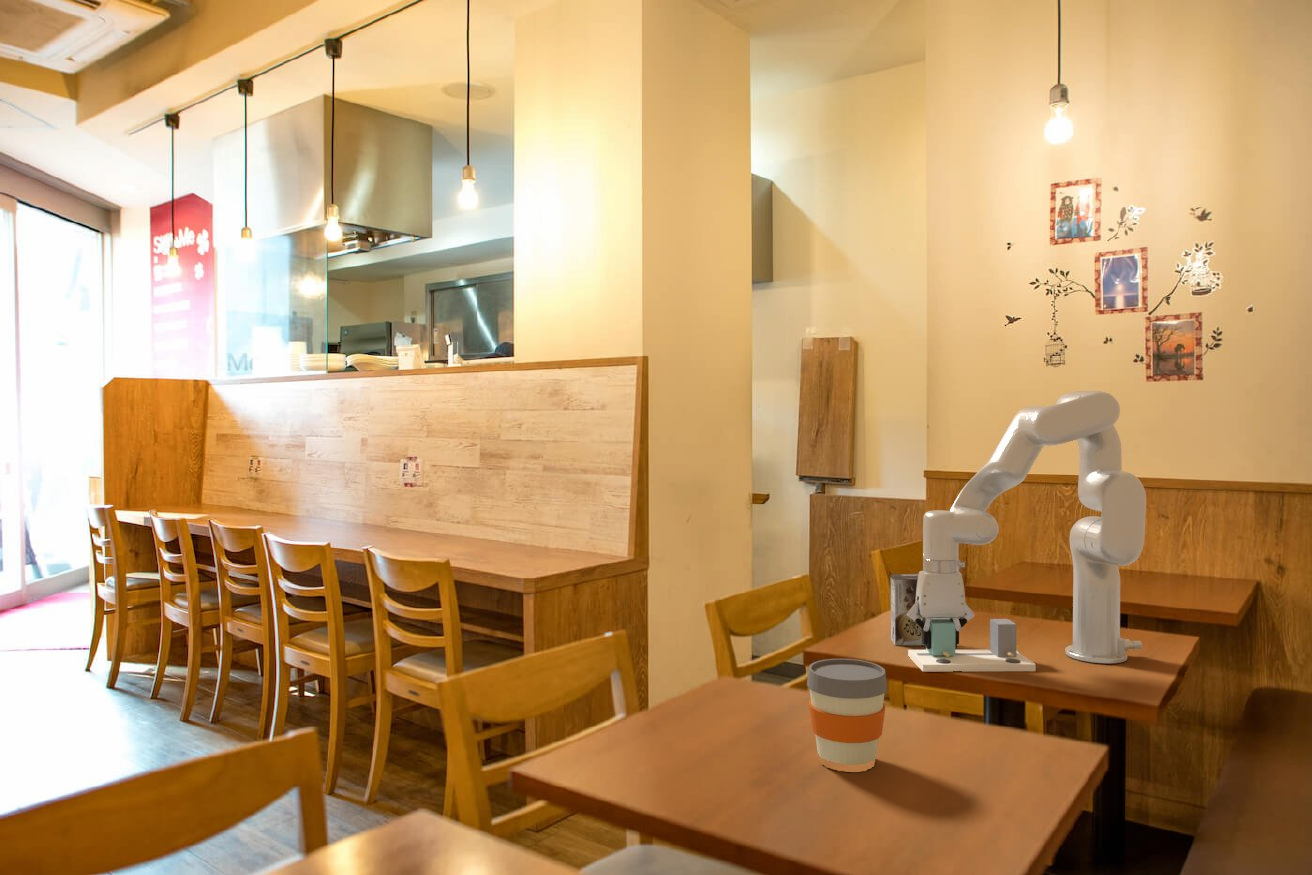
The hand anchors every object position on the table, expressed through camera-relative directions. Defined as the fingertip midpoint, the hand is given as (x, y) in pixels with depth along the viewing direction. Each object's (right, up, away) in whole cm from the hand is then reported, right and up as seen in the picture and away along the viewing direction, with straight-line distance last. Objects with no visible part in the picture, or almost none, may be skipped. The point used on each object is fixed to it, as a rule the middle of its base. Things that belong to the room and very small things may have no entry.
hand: (940, 646), depth 201 cm
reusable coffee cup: (-33, -6, -56) cm, 66 cm away
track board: (+6, -3, -2) cm, 7 cm away
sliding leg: (0, -1, -1) cm, 2 cm away
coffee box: (-2, -3, +16) cm, 17 cm away
